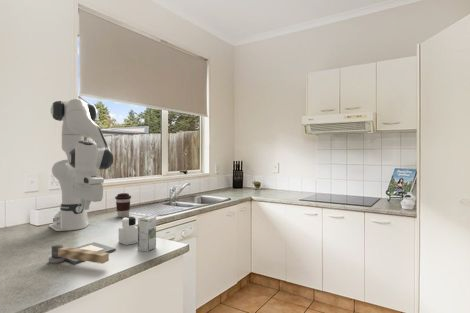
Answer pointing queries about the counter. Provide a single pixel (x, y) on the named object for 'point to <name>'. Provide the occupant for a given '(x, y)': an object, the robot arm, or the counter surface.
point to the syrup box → (146, 233)
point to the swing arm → (79, 254)
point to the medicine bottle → (128, 231)
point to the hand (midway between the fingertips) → (85, 209)
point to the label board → (90, 246)
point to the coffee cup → (123, 204)
